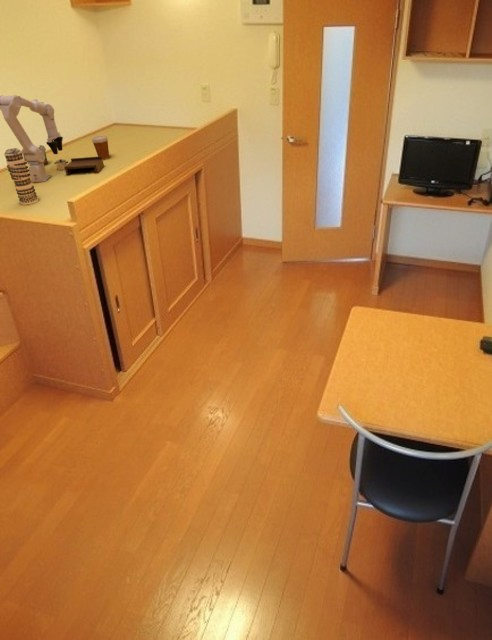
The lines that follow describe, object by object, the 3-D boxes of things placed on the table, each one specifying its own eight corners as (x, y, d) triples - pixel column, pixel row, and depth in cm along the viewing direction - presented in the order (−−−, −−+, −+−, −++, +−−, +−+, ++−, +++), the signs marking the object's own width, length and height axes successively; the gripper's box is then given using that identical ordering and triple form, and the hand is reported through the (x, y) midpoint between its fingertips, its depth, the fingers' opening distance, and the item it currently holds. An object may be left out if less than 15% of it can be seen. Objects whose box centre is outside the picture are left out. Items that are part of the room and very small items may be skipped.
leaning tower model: (41, 197, 243) (25, 146, 229) (35, 203, 235) (18, 151, 221) (23, 199, 243) (5, 147, 229) (17, 205, 235) (-2, 153, 221)
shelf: (97, 173, 270) (95, 162, 267) (66, 175, 272) (63, 165, 268) (104, 166, 281) (101, 156, 278) (74, 168, 282) (71, 158, 279)
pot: (67, 169, 281) (65, 160, 278) (54, 170, 282) (52, 161, 279) (70, 166, 285) (68, 157, 282) (58, 167, 286) (55, 158, 283)
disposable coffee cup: (93, 159, 295) (87, 139, 288) (103, 155, 302) (98, 135, 295) (104, 160, 291) (100, 140, 284) (115, 156, 298) (110, 136, 291)
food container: (43, 167, 289) (37, 150, 283) (34, 167, 290) (28, 150, 285) (53, 161, 299) (48, 144, 293) (45, 161, 300) (39, 145, 295)
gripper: (53, 130, 265) (60, 155, 272) (62, 123, 277) (69, 148, 284) (40, 131, 265) (48, 156, 273) (50, 124, 277) (57, 149, 285)
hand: (58, 152), depth 278 cm, fingers open, 7 cm apart
